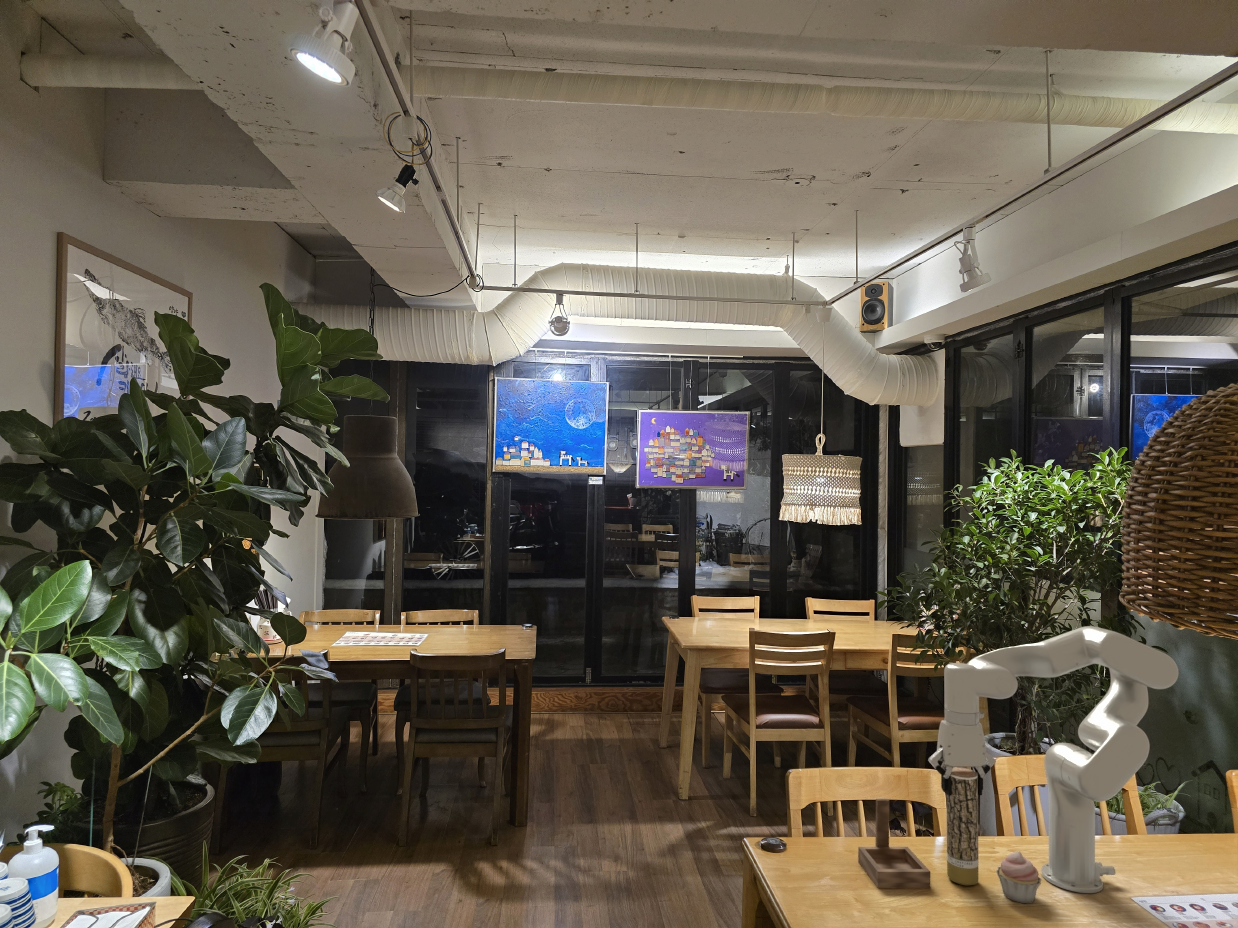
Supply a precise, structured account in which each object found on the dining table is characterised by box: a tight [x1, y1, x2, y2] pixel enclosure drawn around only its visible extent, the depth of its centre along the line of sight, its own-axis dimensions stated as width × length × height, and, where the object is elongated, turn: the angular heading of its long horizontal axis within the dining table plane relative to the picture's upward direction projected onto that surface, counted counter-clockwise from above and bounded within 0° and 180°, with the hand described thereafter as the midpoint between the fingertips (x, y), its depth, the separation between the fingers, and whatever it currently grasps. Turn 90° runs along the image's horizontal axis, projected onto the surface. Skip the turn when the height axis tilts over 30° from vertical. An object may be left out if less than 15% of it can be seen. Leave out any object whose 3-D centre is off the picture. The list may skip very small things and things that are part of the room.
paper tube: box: [945, 767, 979, 887], centre depth 180 cm, size 7×7×25 cm
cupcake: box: [995, 850, 1043, 904], centre depth 173 cm, size 9×9×10 cm
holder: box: [857, 798, 931, 889], centre depth 183 cm, size 12×13×15 cm
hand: (962, 792), depth 181 cm, fingers closed on paper tube, 6 cm apart
